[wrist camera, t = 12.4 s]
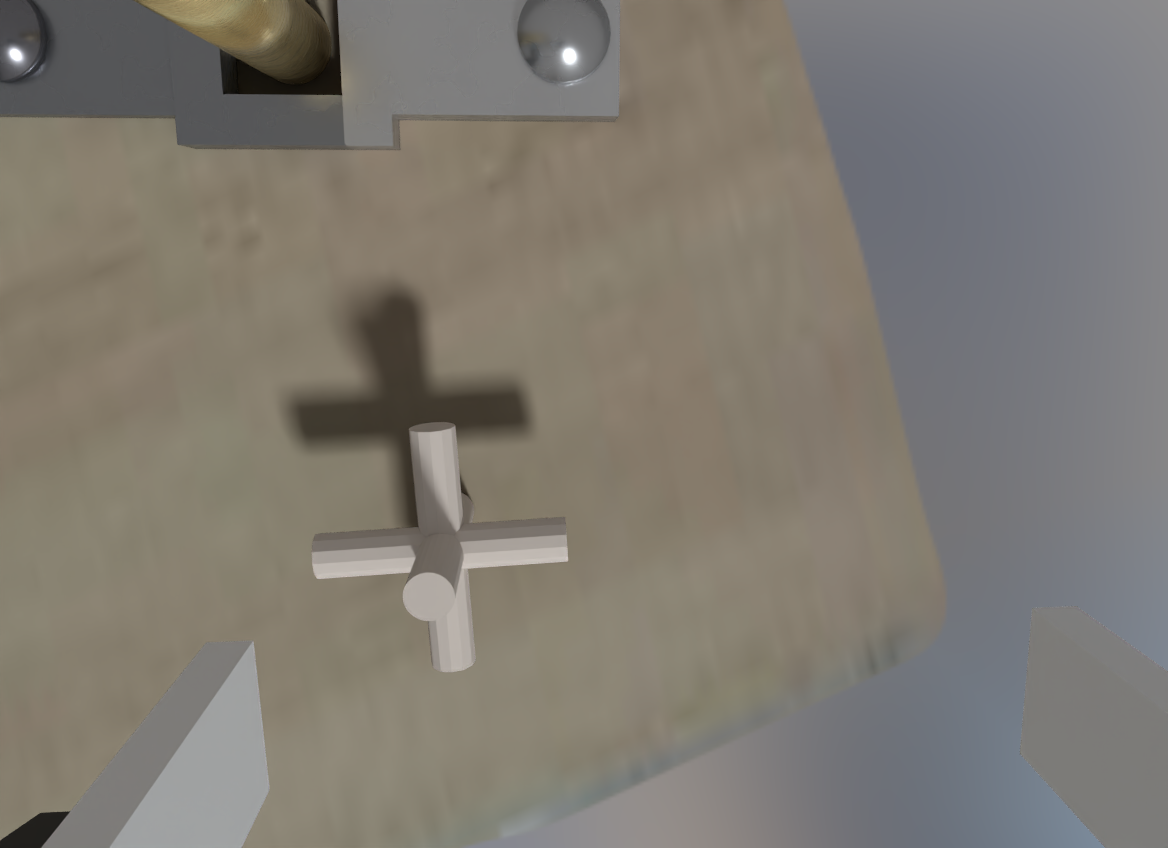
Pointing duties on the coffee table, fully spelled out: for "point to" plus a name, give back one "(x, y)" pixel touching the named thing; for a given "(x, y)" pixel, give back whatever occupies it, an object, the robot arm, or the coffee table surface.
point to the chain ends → (368, 70)
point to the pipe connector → (440, 548)
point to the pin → (257, 33)
